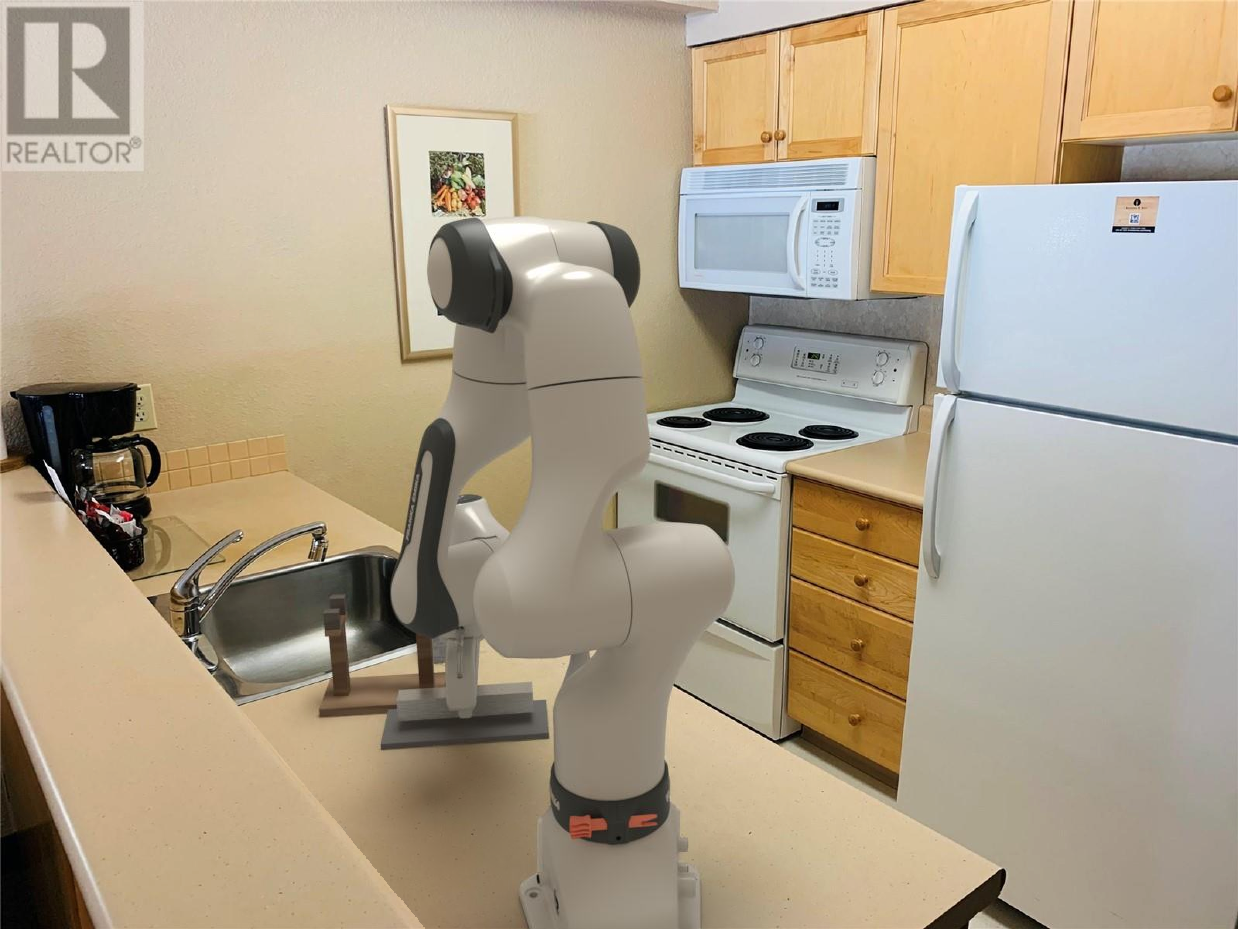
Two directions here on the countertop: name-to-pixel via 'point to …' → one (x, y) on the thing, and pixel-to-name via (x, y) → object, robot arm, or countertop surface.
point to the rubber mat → (465, 729)
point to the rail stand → (372, 690)
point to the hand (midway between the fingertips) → (466, 707)
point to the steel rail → (488, 702)
